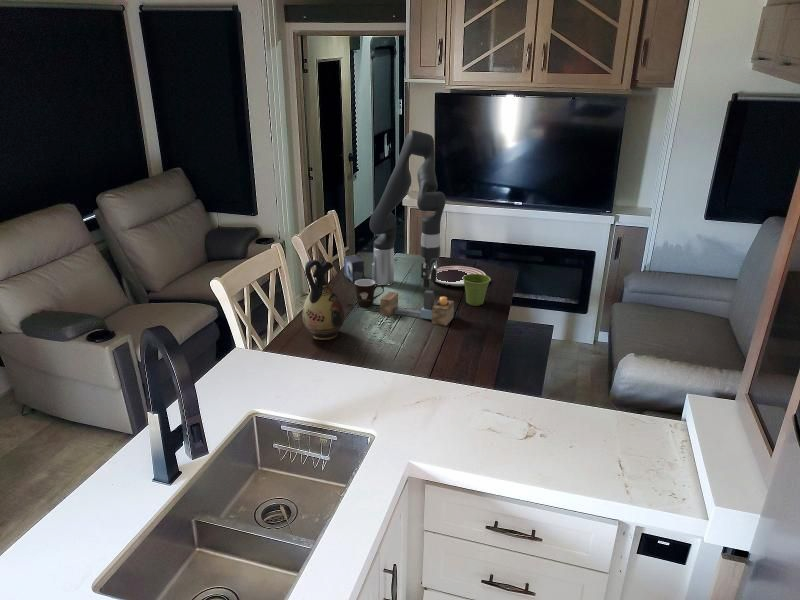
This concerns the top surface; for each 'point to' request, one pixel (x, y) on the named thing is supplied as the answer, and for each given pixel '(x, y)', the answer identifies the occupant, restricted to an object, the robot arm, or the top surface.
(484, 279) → the plant pot
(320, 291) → the ceramic jug
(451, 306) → the stand
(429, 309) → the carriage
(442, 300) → the button
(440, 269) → the dinner plate
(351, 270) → the small box
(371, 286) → the coffee mug
